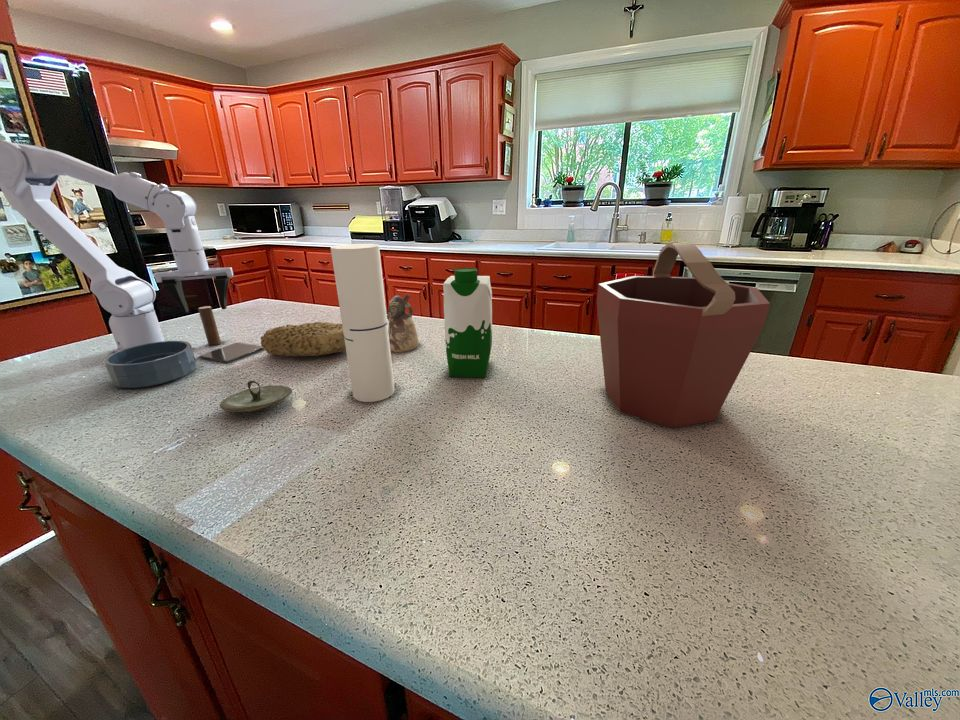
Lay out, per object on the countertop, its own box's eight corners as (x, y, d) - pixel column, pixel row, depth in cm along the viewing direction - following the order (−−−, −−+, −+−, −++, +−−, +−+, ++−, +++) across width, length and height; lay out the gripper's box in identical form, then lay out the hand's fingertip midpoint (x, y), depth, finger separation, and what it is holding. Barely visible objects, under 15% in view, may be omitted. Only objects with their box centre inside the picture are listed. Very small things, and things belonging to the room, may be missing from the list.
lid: (239, 436, 60) (236, 410, 58) (208, 404, 64) (205, 378, 62) (303, 410, 68) (304, 386, 66) (272, 383, 72) (272, 360, 70)
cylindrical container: (384, 403, 66) (365, 249, 56) (345, 399, 67) (320, 248, 58) (400, 385, 72) (386, 243, 63) (364, 382, 74) (345, 243, 64)
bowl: (97, 384, 75) (87, 359, 73) (170, 359, 86) (163, 337, 84) (141, 395, 70) (131, 369, 68) (212, 367, 81) (205, 344, 80)
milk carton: (444, 378, 75) (438, 271, 67) (451, 360, 83) (447, 263, 75) (490, 380, 74) (489, 272, 66) (493, 361, 82) (493, 263, 75)
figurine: (384, 344, 93) (378, 293, 89) (413, 339, 96) (409, 290, 91) (391, 354, 87) (385, 300, 83) (422, 348, 90) (418, 296, 85)
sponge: (260, 366, 85) (338, 355, 79) (251, 330, 84) (329, 316, 78) (303, 355, 97) (373, 345, 91) (296, 323, 96) (366, 311, 90)
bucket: (743, 457, 51) (800, 259, 41) (572, 421, 60) (586, 251, 50) (724, 382, 71) (759, 238, 62) (599, 364, 80) (613, 235, 71)
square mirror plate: (199, 357, 87) (199, 355, 87) (236, 344, 94) (236, 342, 94) (228, 363, 84) (227, 361, 83) (264, 349, 91) (263, 347, 91)
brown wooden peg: (206, 345, 94) (195, 308, 91) (216, 341, 97) (206, 305, 93) (213, 346, 94) (202, 309, 90) (223, 342, 96) (213, 306, 92)
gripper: (141, 254, 81) (162, 318, 86) (223, 249, 86) (238, 310, 91) (152, 250, 87) (172, 310, 92) (228, 246, 92) (242, 303, 97)
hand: (205, 310), depth 92 cm, fingers open, 7 cm apart
